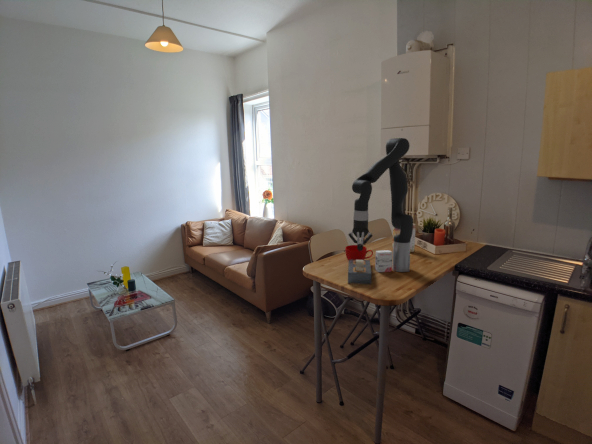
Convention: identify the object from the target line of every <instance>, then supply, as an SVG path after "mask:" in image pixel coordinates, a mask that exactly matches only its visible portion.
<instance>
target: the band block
mask: <svg viewBox="0 0 592 444" xmlns="http://www.w3.org/2000/svg"><path fill="white" fill-rule="evenodd" d="M370 261H371V260H370V259H364V268H363V271H356V260H352V259H349V261H348V268H347V269H348V270H347V284H351V283H354V284H355V285H372V269H371V262H370Z"/></svg>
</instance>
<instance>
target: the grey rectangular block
mask: <svg viewBox="0 0 592 444" xmlns="http://www.w3.org/2000/svg"><path fill="white" fill-rule="evenodd" d="M364 260H365V259H364ZM364 260H356V271H363V268H364Z"/></svg>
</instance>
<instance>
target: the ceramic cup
mask: <svg viewBox="0 0 592 444" xmlns="http://www.w3.org/2000/svg"><path fill="white" fill-rule="evenodd" d="M369 252H371V254H370V255H369V256H367V253H369ZM344 253H345V257H346V259H347V261H348V262H349V259H352V260H368V259H370V258H371V257H372V256H373V255H374V252H373V250H371V249H367V247H366V246H364V245H363V250H361V251H359V250H358V249H357V244H351V245H347V246H345V252H344ZM366 256H367V257H366Z"/></svg>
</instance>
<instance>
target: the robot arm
mask: <svg viewBox="0 0 592 444" xmlns="http://www.w3.org/2000/svg"><path fill="white" fill-rule="evenodd" d="M409 150H410V142H409V140H408V139H407V138H404V137H396V138H390V139H388V140H387V141H386V143H385V154H386V155H385V156H384V157H383V158H380V159H379V160H378V161H375V163H374V164H372V165H371V166H370V167H369V168H368V170H366V172H365V173H363V174H362V175H360V176H359V177H357V178H356V179H355V180H354V181H353V183H352V186H351V189H352V191H353V193H355V194H358V195H359V194H360V195H359V198H356V199H355V200H354V207H353V208H354V210H353V228H352V231H350V232H348V237H349V238H350V239H351V240H352V242H353V243H354V244H356V245H357V249H358V250H359V251H361V250H363V246H364V244H367V243H369V242H368V241H370V239H371V238H372V237H373V236H374V235H373V234H372V233H371V232H369V203H370V202H369V201H370V199H371V195H372V192H373V185H372V184H374V183H376V182H377V181H378V180H379V179H380V178H381V177H382V176H383V175H384V173H385V172H387V170H388V173H389V174H388V175H389V188H390V198H391V199H390V201H391V215H390V217H391V218H390V220H391V225H392V228H393V227H394V228H397V229H400V234H399V235H395V236H394V243H393V247H392V248H393V249H392V252H393V255H392V271H394V272H398V273H399V272H400V273H405V272H406V273H407V272H410V270H411V269H410V268H411V267H410V266H411V255H410V254H411V252H410V240H411V237H412V231H413V224H414V218H413V216H412V215H410V214H408V213H404V212H403V202H404V200H405V198H406V197H407V194H408V191H409V190H408V189H409V185H408V178H407V176H406V173H405V172H404V170H403V169H402V167H401V164H400V159H402V158H403V157H404V156H405V155H406V154H407V153H408V152H409ZM354 236H355V237H356V238H355V237H354ZM366 236H367V237H366ZM364 238H365V239H364Z"/></svg>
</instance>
